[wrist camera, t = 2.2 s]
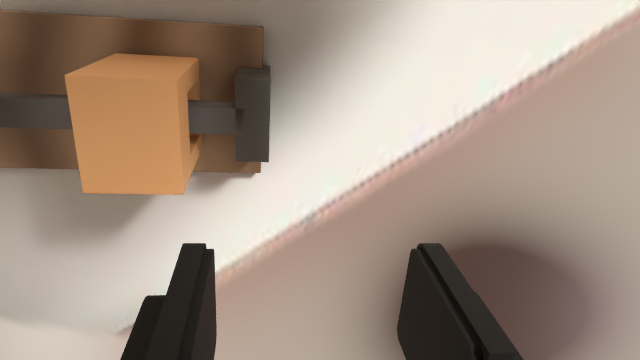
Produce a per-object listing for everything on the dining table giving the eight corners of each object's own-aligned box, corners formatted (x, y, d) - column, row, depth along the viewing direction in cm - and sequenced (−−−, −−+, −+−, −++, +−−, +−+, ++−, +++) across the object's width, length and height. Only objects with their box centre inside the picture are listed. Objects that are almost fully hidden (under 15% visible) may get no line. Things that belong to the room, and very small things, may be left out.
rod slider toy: (270, 27, 29) (272, 37, 23) (267, 167, 33) (267, 210, 27) (-228, -5, 25) (-394, -3, 19) (-165, 158, 29) (-285, 205, 23)
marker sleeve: (198, 57, 28) (176, 80, 21) (202, 147, 30) (183, 194, 23) (115, 53, 27) (64, 75, 20) (125, 145, 30) (82, 193, 23)
